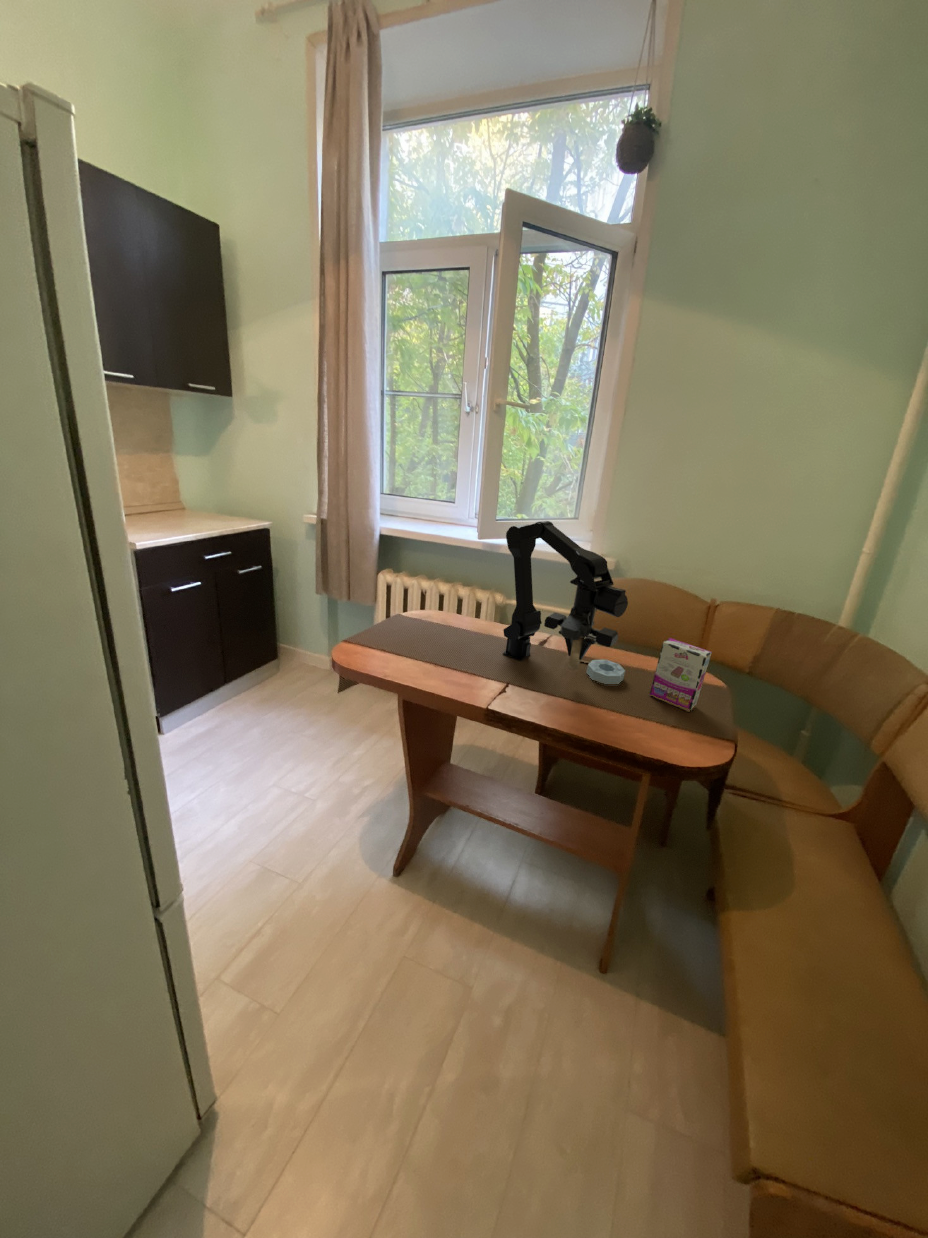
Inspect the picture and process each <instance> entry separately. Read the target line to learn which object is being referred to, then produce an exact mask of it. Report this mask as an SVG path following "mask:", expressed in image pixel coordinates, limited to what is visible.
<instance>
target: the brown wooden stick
mask: <svg viewBox="0 0 928 1238" xmlns="http://www.w3.org/2000/svg"><path fill="white" fill-rule="evenodd" d="M581 662H584V663H583V664H585V663H588V664H589V663H590V662H591V661H587V660H584V659H581V660H580V663H581ZM588 664H587V665H588Z"/></svg>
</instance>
